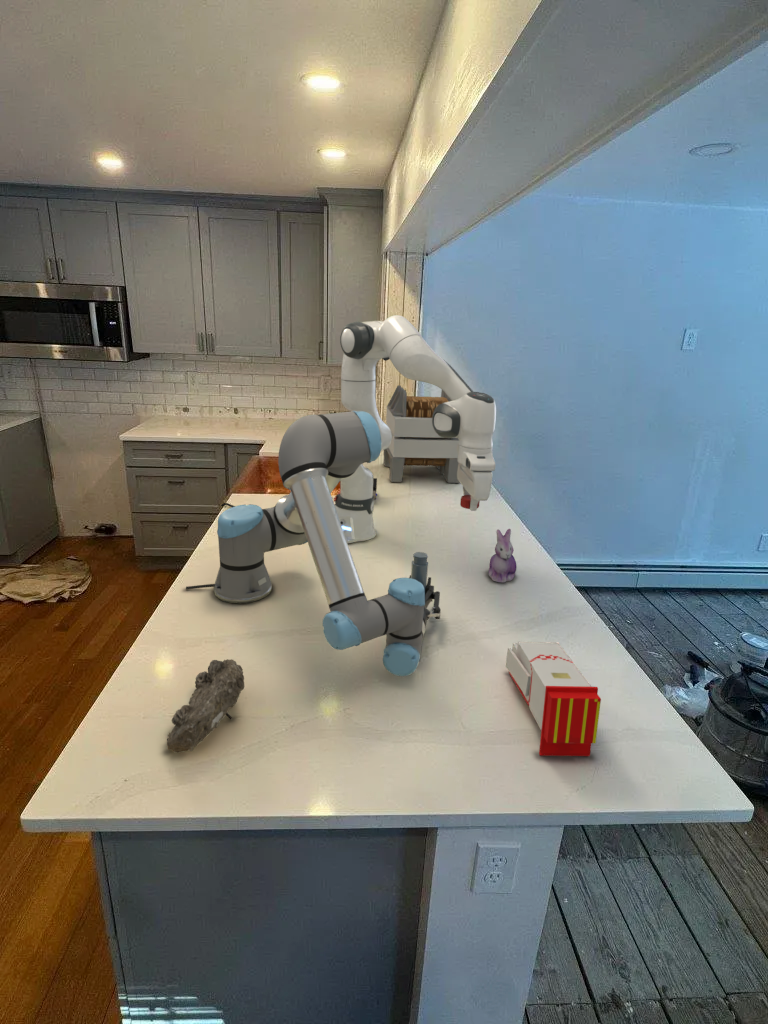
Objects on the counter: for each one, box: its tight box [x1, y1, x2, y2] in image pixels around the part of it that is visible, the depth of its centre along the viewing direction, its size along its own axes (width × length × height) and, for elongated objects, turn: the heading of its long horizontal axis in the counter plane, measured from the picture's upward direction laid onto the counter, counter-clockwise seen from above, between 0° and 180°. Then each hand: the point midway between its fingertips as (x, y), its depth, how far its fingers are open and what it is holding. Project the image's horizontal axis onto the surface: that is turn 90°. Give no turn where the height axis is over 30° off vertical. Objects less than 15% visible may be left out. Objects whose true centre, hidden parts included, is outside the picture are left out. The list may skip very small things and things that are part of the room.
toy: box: [505, 641, 602, 757], centre depth 113 cm, size 12×13×30 cm
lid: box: [459, 494, 481, 510], centre depth 152 cm, size 5×5×2 cm
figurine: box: [488, 528, 518, 583], centre depth 168 cm, size 9×10×15 cm
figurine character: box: [373, 477, 378, 500], centre depth 233 cm, size 7×8×15 cm
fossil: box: [166, 658, 245, 754], centre depth 106 cm, size 22×10×15 cm
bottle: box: [410, 551, 429, 594], centre depth 146 cm, size 4×4×16 cm
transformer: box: [383, 384, 460, 484], centre depth 268 cm, size 34×33×41 cm
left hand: (420, 580), depth 152 cm, fingers closed on bottle, 4 cm apart
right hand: (469, 506), depth 153 cm, fingers closed on lid, 5 cm apart
